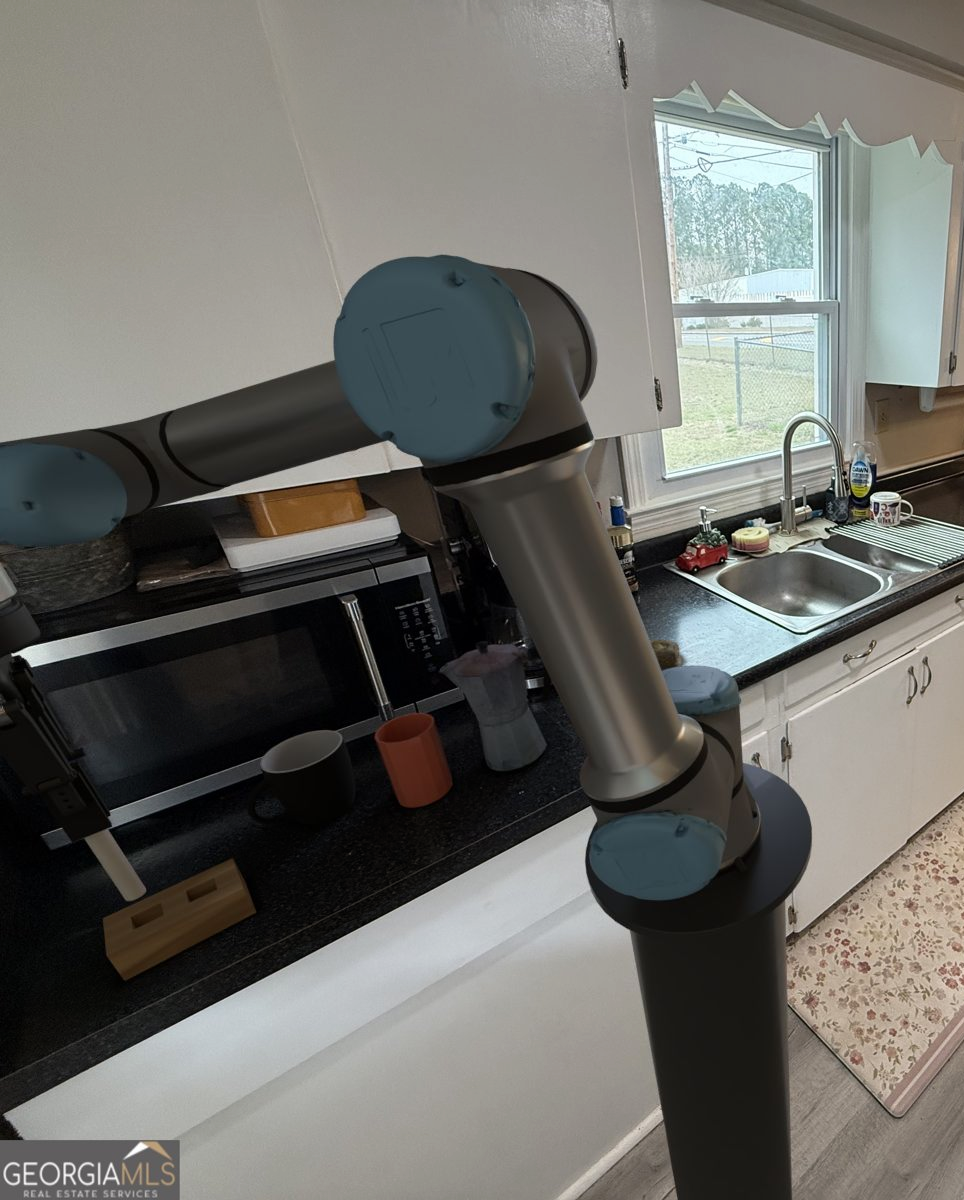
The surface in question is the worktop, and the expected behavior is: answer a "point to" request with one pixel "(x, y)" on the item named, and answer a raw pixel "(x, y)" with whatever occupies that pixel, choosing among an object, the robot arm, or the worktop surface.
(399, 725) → the cup
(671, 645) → the cake
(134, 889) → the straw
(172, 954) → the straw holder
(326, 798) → the mug
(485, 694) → the moka pot
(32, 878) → the worktop surface
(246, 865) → the worktop surface
